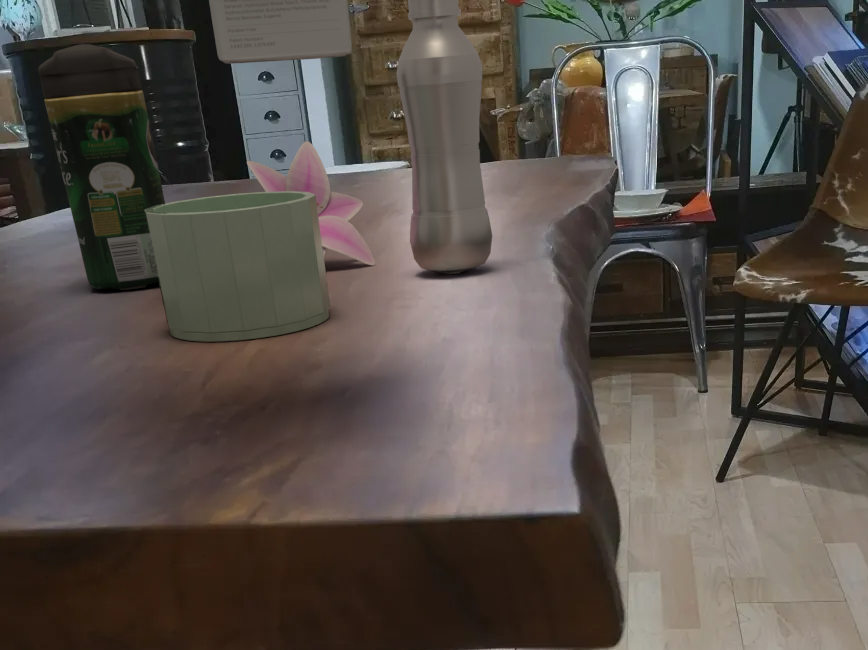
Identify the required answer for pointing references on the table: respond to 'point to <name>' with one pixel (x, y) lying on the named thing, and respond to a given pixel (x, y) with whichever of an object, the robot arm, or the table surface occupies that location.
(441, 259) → the plastic bottle
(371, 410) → the table surface
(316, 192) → the lily
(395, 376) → the table surface
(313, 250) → the green flower pot
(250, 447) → the table surface
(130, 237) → the coffee jar
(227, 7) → the white cardboard box
